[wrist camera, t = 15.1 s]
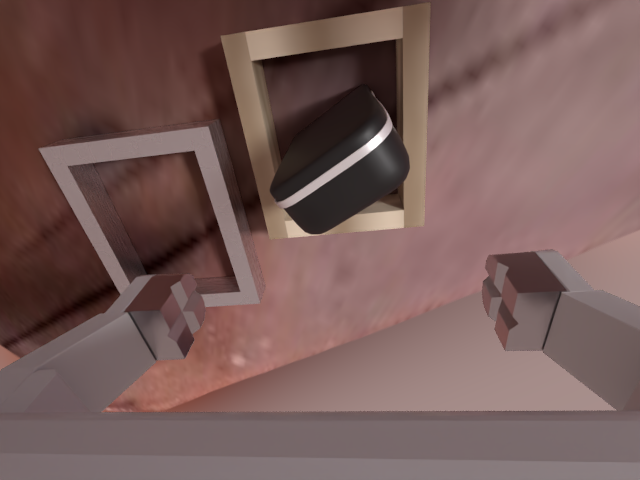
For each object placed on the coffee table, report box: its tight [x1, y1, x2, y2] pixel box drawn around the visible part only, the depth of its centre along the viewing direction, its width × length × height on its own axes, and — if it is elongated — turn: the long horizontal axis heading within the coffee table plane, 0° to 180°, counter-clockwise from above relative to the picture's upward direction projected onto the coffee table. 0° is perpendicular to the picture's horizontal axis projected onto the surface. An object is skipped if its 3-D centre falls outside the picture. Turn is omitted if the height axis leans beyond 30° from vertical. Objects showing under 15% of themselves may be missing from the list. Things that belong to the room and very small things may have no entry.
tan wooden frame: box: [220, 2, 431, 239], centre depth 24 cm, size 12×14×3 cm
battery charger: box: [270, 84, 410, 234], centre depth 20 cm, size 7×4×11 cm, turn 127°
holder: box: [38, 119, 265, 307], centre depth 29 cm, size 13×16×2 cm
